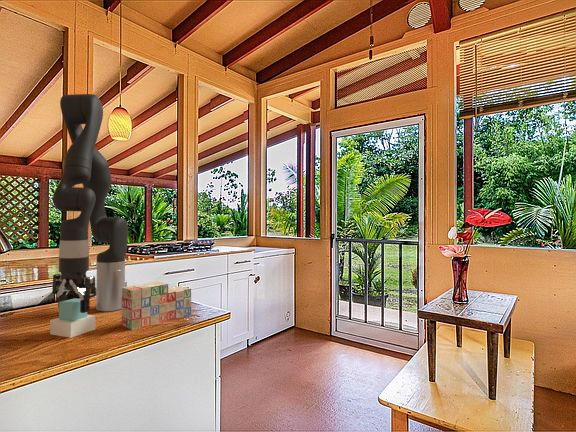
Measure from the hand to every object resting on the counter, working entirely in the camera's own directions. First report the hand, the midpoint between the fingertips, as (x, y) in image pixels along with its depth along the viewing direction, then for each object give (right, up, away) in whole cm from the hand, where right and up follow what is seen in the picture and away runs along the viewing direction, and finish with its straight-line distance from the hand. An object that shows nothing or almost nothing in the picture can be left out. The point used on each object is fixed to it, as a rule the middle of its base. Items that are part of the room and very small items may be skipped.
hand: (73, 310), depth 102 cm
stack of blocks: (+20, -7, +12) cm, 25 cm away
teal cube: (0, -2, 0) cm, 2 cm away
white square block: (0, -6, 0) cm, 6 cm away
